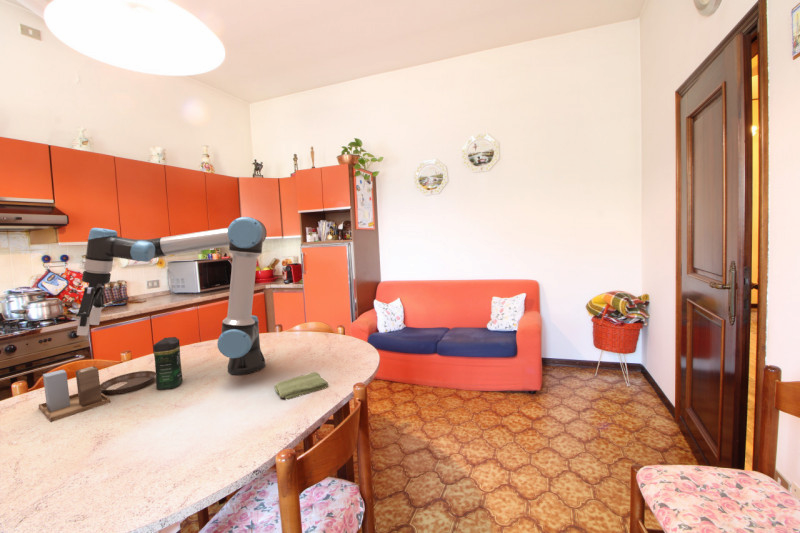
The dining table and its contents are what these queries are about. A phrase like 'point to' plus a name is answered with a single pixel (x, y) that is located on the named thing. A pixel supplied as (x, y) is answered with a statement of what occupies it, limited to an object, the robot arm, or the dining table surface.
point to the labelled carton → (88, 386)
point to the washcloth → (300, 385)
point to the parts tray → (71, 408)
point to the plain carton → (56, 390)
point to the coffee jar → (167, 363)
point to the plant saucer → (128, 382)
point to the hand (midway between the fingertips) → (88, 329)
